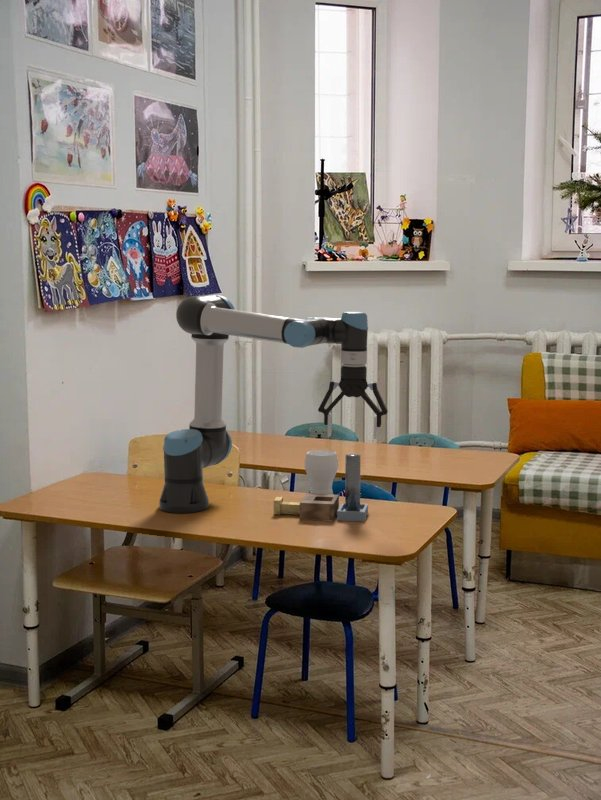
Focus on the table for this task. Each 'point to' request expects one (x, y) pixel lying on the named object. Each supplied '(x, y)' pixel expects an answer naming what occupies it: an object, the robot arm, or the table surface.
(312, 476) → the cup
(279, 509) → the bar
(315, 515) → the socket block
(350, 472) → the grey metal bar
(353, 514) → the grey open tray
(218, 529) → the table surface
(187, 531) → the table surface
